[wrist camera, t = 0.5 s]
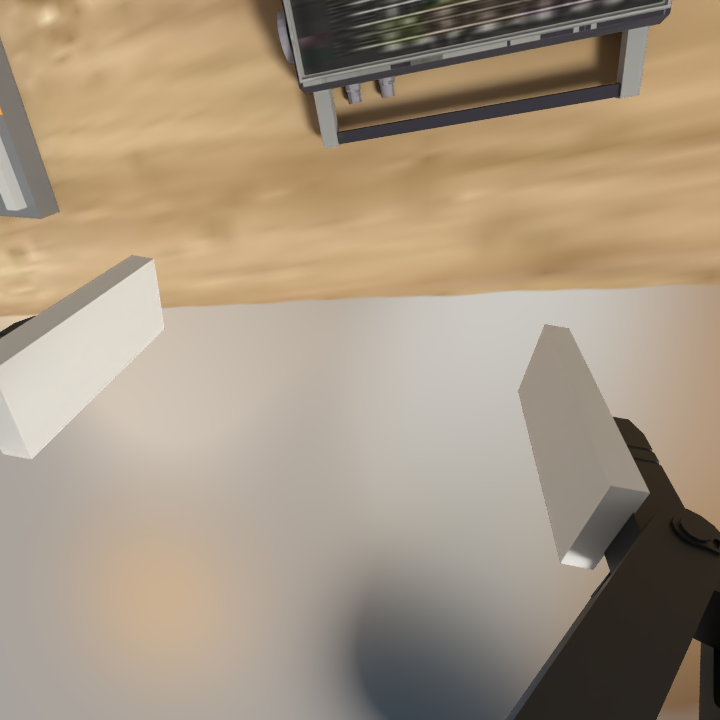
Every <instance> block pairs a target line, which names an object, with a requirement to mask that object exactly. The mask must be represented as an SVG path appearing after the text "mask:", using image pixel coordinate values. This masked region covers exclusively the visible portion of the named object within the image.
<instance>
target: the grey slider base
mask: <svg viewBox="0 0 720 720" xmlns="http://www.w3.org/2000/svg"><path fill="white" fill-rule="evenodd" d="M57 212H60V211H59V208H58V205H57V203H56V200H55V197H54V194H53V191H52V188H51V185H50V182H49V179H48V176H47V173H46V170H45V167H44V164H43V162H42V159H41V156H40V153H39V150H38V147H37V144H36V141H35V138H34V135H33V132H32V129H31V126H30V123H29V121H28V118H27V115H26V112H25V109H24V106H23V103H22V100H21V97H20V94H19V91H18V88H17V85H16V82H15V80H14V77H13V74H12V71H11V68H10V65H9V62H8V59H7V56H6V53H5V50H4V47H3V44H2V41H1V39H0V216H9V217H23V218H37V219H42V218H44V217H47V216H50V215H52V214H55V213H57Z"/></svg>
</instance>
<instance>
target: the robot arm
mask: <svg viewBox="0 0 720 720" xmlns="http://www.w3.org/2000/svg"><path fill="white" fill-rule="evenodd" d="M163 330H164V322H163V316H162V309H161V303H160V296H159V290H158V284H157V277H156V271H155V265H154V259H152V258H146V257H140V256H134V255H131V256H130V257H128V258H127V259H125V260H124V261H122V262H120V263H119V264H117V265H116V266H114V267H113V268H111V269H109V270H108V271H106V272H105V273H103V274H101V275H100V276H98V277H97V278H95V279H94V280H92V281H90V282H89V283H87V284H86V285H84V286H83V287H81V288H79V289H78V290H76V291H75V292H73V293H72V294H70V295H68V296H67V297H65V298H64V299H62V300H60V301H59V302H57V303H56V304H54V305H53V306H51V307H49V308H48V309H46V310H45V311H43V312H42V313H40V314H38V315H37V316H33V317H30V318H27V319H25V320H22V321H19V322H16V323H14V324H12V325H11V326H9V327H8V328H6V329H4V330H3V331H1V332H0V450H1V452H2V453H3V454H6V455H11V456H17V457H21V458H27V459H32V458H33V457H34V456H35V455H36V454H37V453H38V452H39V451H40V450H41V449H42V448H43V447H45V446H46V444H48V443H49V441H50V440H52V439H53V438H54V436H56V435H57V434H58V433H59V432H60V431H61V430H62V429H63V428H64V427H65V426H66V425H67V424H68V423H69V422H70V421H71V420H72V419H73V418H74V417H75V416H76V415H77V414H78V413H79V412H80V411H81V410H82V409H83V408H84V407H85V406H86V405H87V404H88V403H89V402H90V401H91V400H92V399H94V397H96V395H98V393H99V392H101V391H102V390H103V389H104V388H105V387H106V386H107V385H108V384H109V383H110V382H111V381H112V380H113V379H114V378H115V377H116V376H117V375H118V374H119V373H120V372H121V371H122V370H123V369H124V368H125V367H126V366H127V365H128V364H129V363H130V362H131V361H132V360H133V359H134V358H135V357H136V356H137V355H138V354H139V353H140V352H141V351H142V350H143V349H145V348H146V346H148V345H149V344H150V343H151V342H152V341H153V340H154V339H155V338H156V337H157V336H158V335H159V334H160V333H161V332H162V331H163ZM518 393H519V397H520V401H521V405H522V409H523V413H524V417H525V421H526V425H527V429H528V433H529V438H530V441H531V445H532V450H533V454H534V458H535V462H536V466H537V470H538V474H539V478H540V482H541V487H542V491H543V495H544V499H545V503H546V507H547V511H548V515H549V519H550V523H551V527H552V531H553V535H554V540H555V543H556V547H557V552H558V556H559V560H560V563H562V564H567V565H572V566H577V567H582V568H588V569H594V568H595V567H596V565H597V564H598V563H599V561H600V560H601V559H602V557H603V556H604V555H605V557H606V560H607V563H608V566H609V569H610V572H609V574H608V575H607V576H606V578H605V579H604V580H603V581H602V583H601V584H600V585H599V587H598V588H597V589H596V590H595V592H594V593H593V594H592V596H591V599H590V600H589V602H588V603H587V605H586V606H585V608H584V609H583V610H582V612H581V613H580V614H579V616H578V617H577V619H576V620H575V622H574V623H573V624H572V626H571V627H570V629H569V630H568V632H567V633H566V635H565V636H564V637H563V639H562V640H561V642H560V643H559V644H558V646H557V647H556V649H555V650H554V651H553V653H552V654H551V656H550V657H549V659H548V660H547V662H546V663H545V664H544V666H543V667H542V669H541V670H540V671H539V673H538V674H537V676H536V677H535V678H534V680H533V681H532V683H531V684H530V686H529V687H528V689H527V690H526V691H525V693H524V694H523V696H522V697H521V698H520V700H519V701H518V703H517V704H516V706H515V707H514V708H513V710H512V711H511V713H510V714H509V715H508V717H507V718H506V720H656V719H657V716H658V714H659V712H660V710H661V708H662V705H663V703H664V701H665V699H666V696H667V694H668V692H669V690H670V688H671V685H672V683H673V681H674V679H675V676H676V674H677V672H678V670H679V667H680V665H681V663H682V661H683V659H684V656H685V654H686V652H687V650H688V647H689V645H690V643H691V641H692V638H694V639H696V640H698V641H700V642H701V660H700V697H699V720H720V532H719V531H718V530H717V529H716V528H715V526H714V525H712V524H711V523H710V522H708V521H707V520H706V519H704V518H703V517H702V516H700V515H698V514H696V513H694V512H692V511H690V510H688V509H685V507H684V506H683V504H682V502H681V500H680V498H679V497H678V495H677V493H676V491H675V490H674V488H673V486H672V484H671V482H670V481H669V479H668V477H667V475H666V473H665V472H664V470H663V468H662V466H661V465H659V461H658V459H657V457H656V455H655V454H654V453H653V452H652V448H651V446H650V445H649V443H648V441H647V439H646V437H645V436H644V434H643V433H642V432H641V431H640V430H639V429H638V428H637V427H636V426H635V425H634V424H633V423H632V422H630V420H628V419H622V418H617V417H612V415H611V413H610V411H609V409H608V407H607V405H606V403H605V401H604V399H603V396H602V394H601V393H600V390H599V389H598V387H597V384H596V382H595V380H594V378H593V376H592V374H591V372H590V370H589V368H588V366H587V364H586V362H585V360H584V358H583V356H582V354H581V352H580V350H579V348H578V346H577V344H576V342H575V340H574V338H573V336H572V334H571V332H570V330H569V328H564V327H558V326H552V325H546V324H545V325H544V328H543V330H542V333H541V335H540V338H539V340H538V343H537V345H536V348H535V350H534V353H533V355H532V358H531V360H530V363H529V365H528V368H527V370H526V373H525V375H524V378H523V381H522V383H521V385H520V388H519V390H518Z"/></svg>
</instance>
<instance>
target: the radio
mask: <svg viewBox="0 0 720 720" xmlns="http://www.w3.org/2000/svg"><path fill="white" fill-rule="evenodd" d="M671 4H672V0H282V5H283V10H279V11H278V13H277V26H278V33H279V38H280V42H281V46H282V49H283V52H284V54H285V57H286V59H287V61H288V62H289V63H290V64H295V68H296V73H297V78H298V82H299V87H300V89H301V90H302V91H303V92H304V93H305V94H307V93H313V94H314V99H315V104H316V109H317V115H318V120H319V125H320V130H321V135H322V141H323V146H324V149H325V148H331V147H337V146H339V145H341V144H343V143H349V142H355V141H361V140H367V139H373V138H378V137H384V136H390V135H396V134H402V133H408V132H414V131H420V130H425V129H431V128H437V127H443V126H449V125H455V124H461V123H467V122H472V121H478V120H484V119H490V118H496V117H502V116H508V115H514V114H519V113H525V112H531V111H537V110H543V109H549V108H555V107H561V106H566V105H572V104H578V103H584V102H590V101H596V100H602V99H608V98H613V97H615V98H626V97H632V96H638V95H639V94H640V87H641V80H642V73H643V65H644V58H645V51H646V44H647V37H648V30H649V26H651V25H656V24H660V23H661V22H662V21H663V20H664V19H665V18H666V17H667V16H668V15H669V14H670V11H671ZM621 31H622V38H621V47H620V55H619V64H618V73H617V82H616V83H614V84H608V85H602V86H597V87H591V88H585V89H580V90H574V91H568V92H563V93H557V94H551V95H546V96H540V97H534V98H528V99H523V100H517V101H511V102H506V103H500V104H494V105H489V106H483V107H477V108H472V109H466V110H460V111H455V112H449V113H443V114H438V115H432V116H426V117H421V118H415V119H409V120H404V121H398V122H392V123H387V124H381V125H375V126H370V127H364V128H358V129H353V130H347V131H341V132H339V128H338V123H337V117H336V111H335V105H334V100H333V94H332V89H333V88H338V87H343V86H345V89H346V92H347V94H348V100H349V104H353V103H358V102H362V101H361V94H360V89H361V85H360V83H363V82H368V81H373V80H378V82H379V85H380V88H381V96H382V98H384V97H390V96H394V86H393V83H394V76H399V75H404V74H409V73H414V72H419V71H424V70H429V69H434V68H439V67H444V66H449V65H454V64H459V63H464V62H469V61H474V60H479V59H484V58H490V57H495V56H500V55H505V54H510V53H515V52H520V51H525V50H530V49H535V48H540V47H545V46H550V45H555V44H560V43H565V42H570V41H575V40H581V39H586V38H591V37H596V36H601V35H606V34H611V33H616V32H621Z"/></svg>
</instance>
